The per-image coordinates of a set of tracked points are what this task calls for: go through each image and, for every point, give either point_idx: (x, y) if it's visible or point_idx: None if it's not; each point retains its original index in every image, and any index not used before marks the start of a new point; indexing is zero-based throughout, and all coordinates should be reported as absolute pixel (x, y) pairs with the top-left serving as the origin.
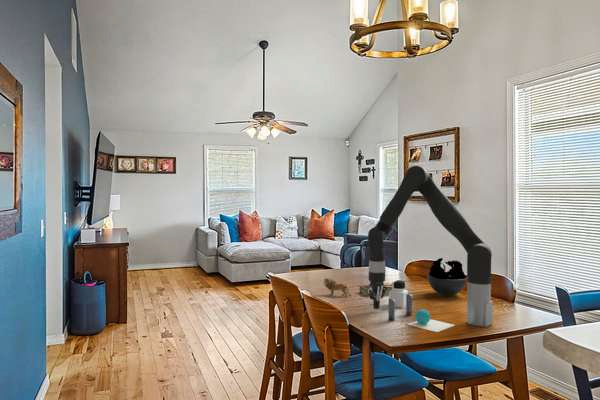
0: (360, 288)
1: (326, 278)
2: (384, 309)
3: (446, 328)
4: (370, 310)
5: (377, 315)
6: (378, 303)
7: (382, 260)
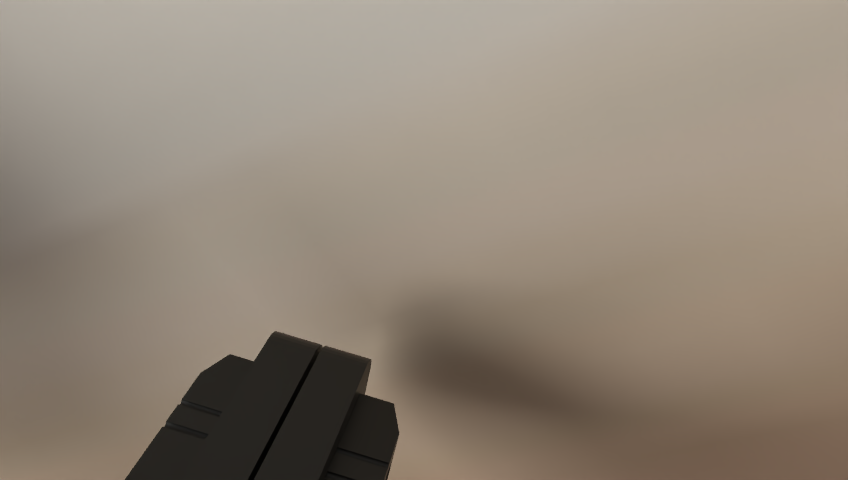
0: None
1: None
2: (12, 233)
3: None
4: None
5: (713, 191)
6: (258, 460)
7: None
